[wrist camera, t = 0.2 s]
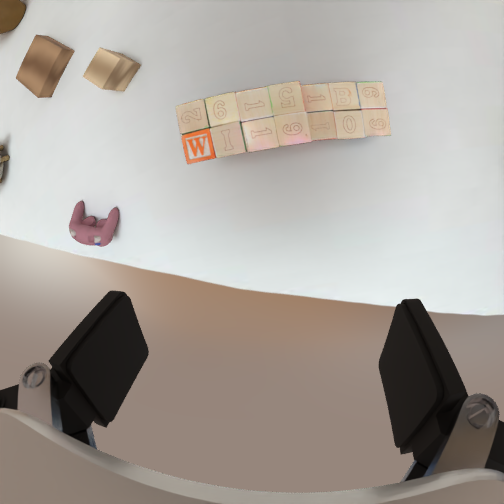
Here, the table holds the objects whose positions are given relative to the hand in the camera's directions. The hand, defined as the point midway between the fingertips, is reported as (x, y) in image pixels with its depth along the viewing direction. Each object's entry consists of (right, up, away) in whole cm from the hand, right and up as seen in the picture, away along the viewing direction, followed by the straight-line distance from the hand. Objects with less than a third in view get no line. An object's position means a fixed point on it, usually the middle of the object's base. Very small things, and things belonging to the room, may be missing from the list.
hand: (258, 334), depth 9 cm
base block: (-40, +39, +22) cm, 60 cm away
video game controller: (-28, +9, +35) cm, 45 cm away
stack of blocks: (+5, +20, +24) cm, 32 cm away
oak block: (-20, +31, +23) cm, 43 cm away
